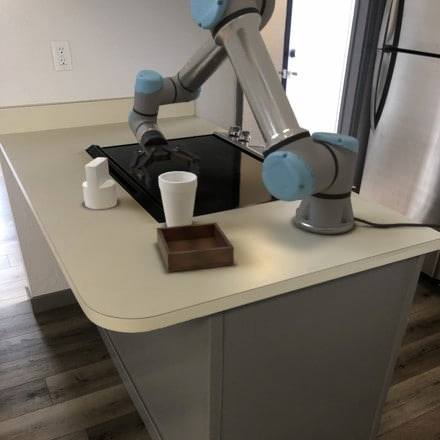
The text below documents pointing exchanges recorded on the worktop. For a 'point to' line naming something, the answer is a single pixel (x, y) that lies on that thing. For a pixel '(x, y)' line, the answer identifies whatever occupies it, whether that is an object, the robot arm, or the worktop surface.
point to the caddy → (194, 247)
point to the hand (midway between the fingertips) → (174, 181)
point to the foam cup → (178, 197)
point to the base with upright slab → (99, 185)
